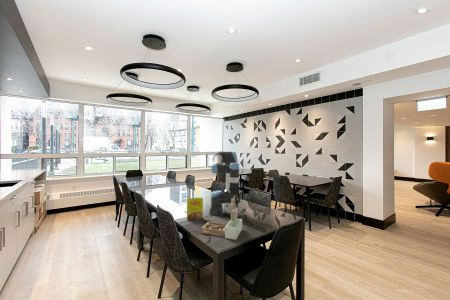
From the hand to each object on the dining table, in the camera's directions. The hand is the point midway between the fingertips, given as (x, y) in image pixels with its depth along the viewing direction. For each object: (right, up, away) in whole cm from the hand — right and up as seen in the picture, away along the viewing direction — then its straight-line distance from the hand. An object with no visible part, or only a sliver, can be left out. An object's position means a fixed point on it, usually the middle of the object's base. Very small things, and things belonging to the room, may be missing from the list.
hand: (234, 211), depth 171 cm
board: (0, -6, 0) cm, 6 cm away
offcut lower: (-16, -18, +5) cm, 25 cm away
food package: (-36, -17, +35) cm, 53 cm away
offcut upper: (-16, -16, +5) cm, 23 cm away
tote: (0, -18, +1) cm, 18 cm away
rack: (-15, -18, +6) cm, 24 cm away
